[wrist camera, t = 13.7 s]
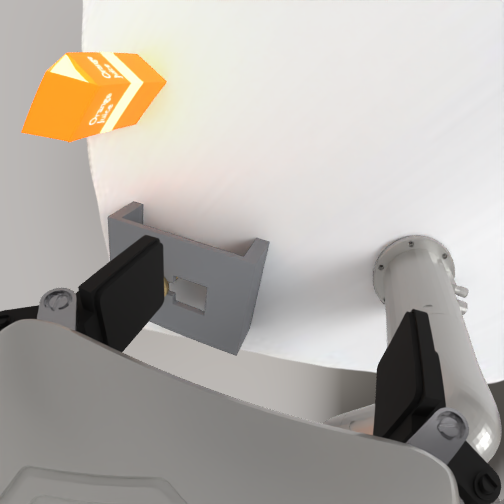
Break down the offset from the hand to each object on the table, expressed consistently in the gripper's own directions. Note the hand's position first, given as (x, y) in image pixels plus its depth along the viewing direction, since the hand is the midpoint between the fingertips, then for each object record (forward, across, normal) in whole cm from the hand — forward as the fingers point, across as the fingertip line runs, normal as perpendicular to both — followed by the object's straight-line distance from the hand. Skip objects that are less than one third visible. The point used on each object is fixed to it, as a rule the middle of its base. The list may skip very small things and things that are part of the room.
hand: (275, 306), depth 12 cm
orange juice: (+33, +31, -5) cm, 45 cm away
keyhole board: (+33, +19, +24) cm, 45 cm away
